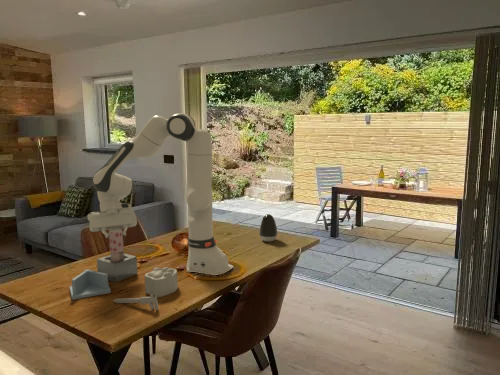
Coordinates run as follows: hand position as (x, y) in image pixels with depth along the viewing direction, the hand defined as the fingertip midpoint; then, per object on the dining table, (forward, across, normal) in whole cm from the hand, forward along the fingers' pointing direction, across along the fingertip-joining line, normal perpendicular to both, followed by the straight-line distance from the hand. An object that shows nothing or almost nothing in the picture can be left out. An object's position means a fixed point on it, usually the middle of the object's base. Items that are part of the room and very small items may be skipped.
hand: (116, 236), depth 188 cm
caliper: (+38, 0, -11) cm, 39 cm away
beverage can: (+8, 0, +9) cm, 12 cm away
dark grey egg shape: (+2, +85, +25) cm, 89 cm away
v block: (+21, -14, +4) cm, 26 cm away
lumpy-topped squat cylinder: (+31, +13, -4) cm, 34 cm away
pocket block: (+12, 0, +13) cm, 18 cm away
